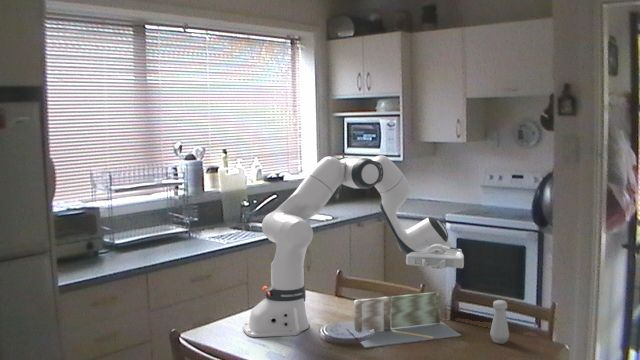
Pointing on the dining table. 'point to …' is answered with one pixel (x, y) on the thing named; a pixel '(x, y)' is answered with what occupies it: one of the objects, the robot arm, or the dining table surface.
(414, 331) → the board
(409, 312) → the green fence panel
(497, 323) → the salt shaker
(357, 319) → the beige patterned panel
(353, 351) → the dining table surface
